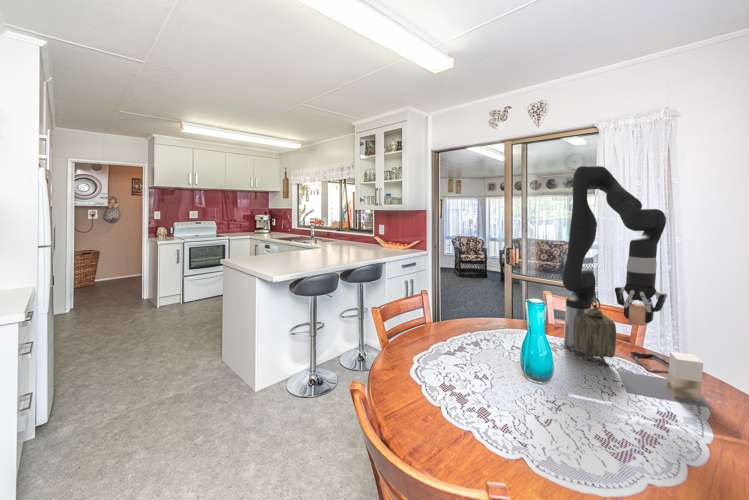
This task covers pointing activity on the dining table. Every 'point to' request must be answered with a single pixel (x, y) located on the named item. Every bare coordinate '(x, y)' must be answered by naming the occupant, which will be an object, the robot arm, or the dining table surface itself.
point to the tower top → (685, 366)
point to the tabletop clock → (595, 333)
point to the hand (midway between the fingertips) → (637, 320)
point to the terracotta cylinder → (637, 314)
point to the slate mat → (654, 388)
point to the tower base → (684, 388)
